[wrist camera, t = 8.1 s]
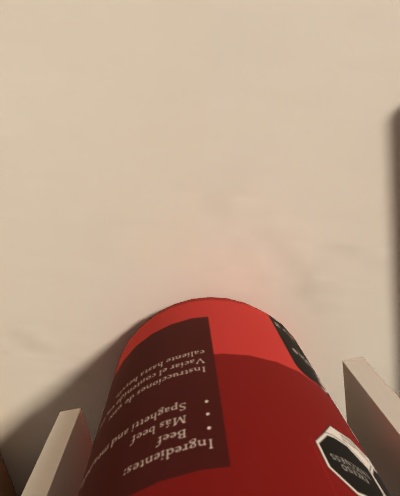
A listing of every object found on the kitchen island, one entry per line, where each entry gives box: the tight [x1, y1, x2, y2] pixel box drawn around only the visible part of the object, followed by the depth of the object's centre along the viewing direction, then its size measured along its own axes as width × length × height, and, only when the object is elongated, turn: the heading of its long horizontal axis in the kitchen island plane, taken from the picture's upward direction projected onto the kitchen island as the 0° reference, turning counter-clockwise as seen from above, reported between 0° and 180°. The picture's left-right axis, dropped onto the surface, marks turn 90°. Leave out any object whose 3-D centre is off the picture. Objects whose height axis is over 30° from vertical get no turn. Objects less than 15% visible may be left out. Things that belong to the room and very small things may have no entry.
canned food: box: [78, 297, 391, 496], centre depth 11 cm, size 8×8×11 cm
